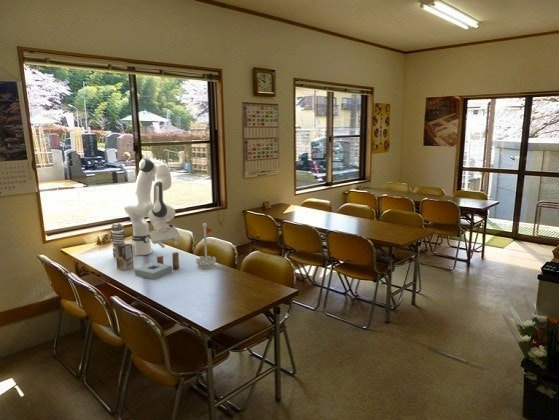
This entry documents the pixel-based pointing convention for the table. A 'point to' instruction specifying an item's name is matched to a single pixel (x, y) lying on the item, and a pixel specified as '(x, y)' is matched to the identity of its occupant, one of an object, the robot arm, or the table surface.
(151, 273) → the bored board
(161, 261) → the short pin
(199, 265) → the flag stand
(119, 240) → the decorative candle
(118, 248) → the coffee box
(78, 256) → the table surface
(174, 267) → the long pin
